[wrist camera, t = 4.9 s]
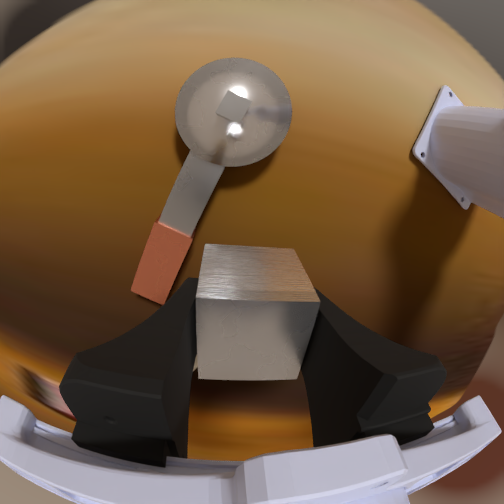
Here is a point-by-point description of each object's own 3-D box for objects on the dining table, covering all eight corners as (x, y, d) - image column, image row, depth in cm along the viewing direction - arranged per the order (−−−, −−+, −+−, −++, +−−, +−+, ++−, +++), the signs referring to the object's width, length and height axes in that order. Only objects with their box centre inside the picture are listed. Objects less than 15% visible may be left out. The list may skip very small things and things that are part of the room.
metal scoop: (211, 50, 14) (207, 29, 10) (303, 95, 16) (322, 86, 12) (115, 267, 20) (95, 295, 16) (191, 300, 22) (185, 334, 18)
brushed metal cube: (280, 317, 14) (296, 378, 10) (204, 315, 14) (198, 378, 10) (293, 248, 12) (320, 301, 9) (205, 243, 12) (195, 297, 8)
